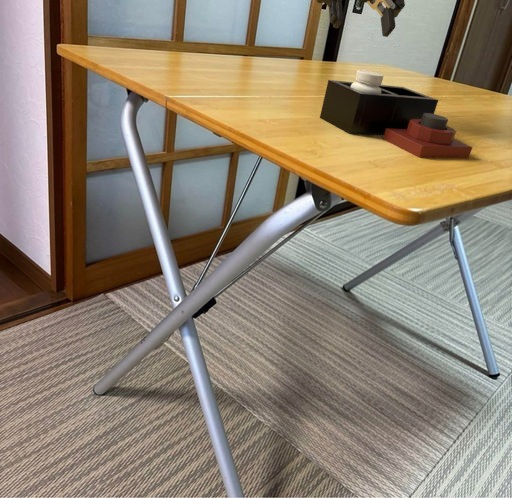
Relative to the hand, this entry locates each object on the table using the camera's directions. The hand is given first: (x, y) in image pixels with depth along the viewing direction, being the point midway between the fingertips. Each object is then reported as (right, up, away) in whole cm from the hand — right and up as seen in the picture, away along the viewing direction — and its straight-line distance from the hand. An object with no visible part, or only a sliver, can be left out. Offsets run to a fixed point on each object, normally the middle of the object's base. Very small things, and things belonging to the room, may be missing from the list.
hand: (363, 29), depth 80 cm
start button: (+9, -17, -5) cm, 20 cm away
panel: (+8, -19, -4) cm, 21 cm away
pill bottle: (-1, -15, +1) cm, 15 cm away
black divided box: (+2, -15, +3) cm, 15 cm away
